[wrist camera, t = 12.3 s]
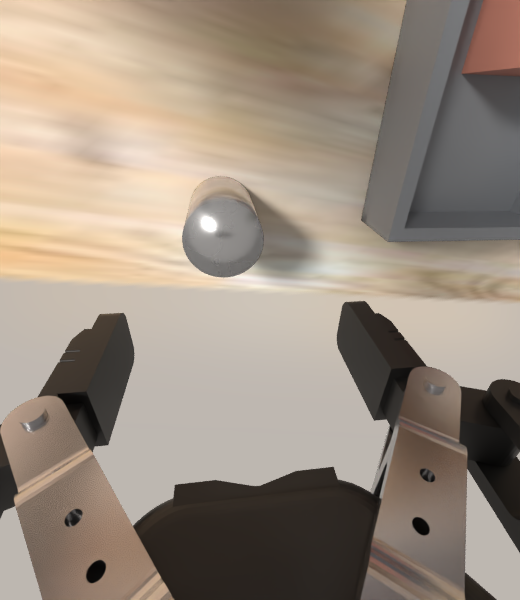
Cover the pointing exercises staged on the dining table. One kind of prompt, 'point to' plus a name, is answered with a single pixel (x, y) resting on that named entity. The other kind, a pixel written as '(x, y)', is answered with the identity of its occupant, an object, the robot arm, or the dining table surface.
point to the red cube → (495, 40)
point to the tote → (445, 137)
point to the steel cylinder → (222, 228)
